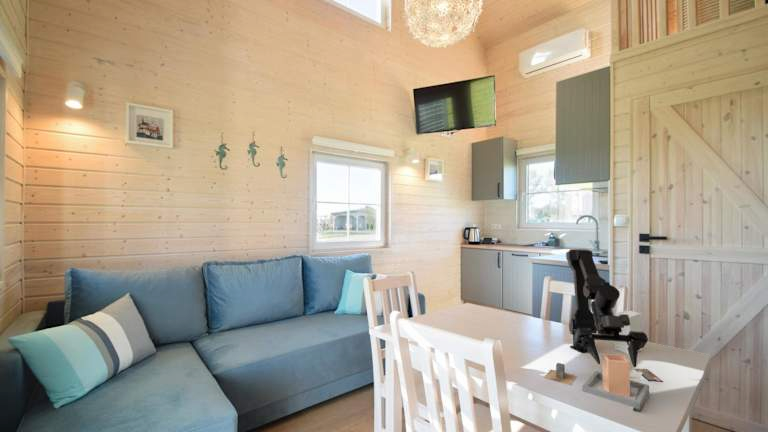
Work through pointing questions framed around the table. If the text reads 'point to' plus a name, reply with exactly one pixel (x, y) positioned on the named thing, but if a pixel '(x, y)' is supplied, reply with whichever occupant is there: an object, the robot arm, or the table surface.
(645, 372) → the chocolate bar
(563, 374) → the stake block
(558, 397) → the table surface
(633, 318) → the skincare box
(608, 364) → the sleeve
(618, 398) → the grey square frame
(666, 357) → the table surface
